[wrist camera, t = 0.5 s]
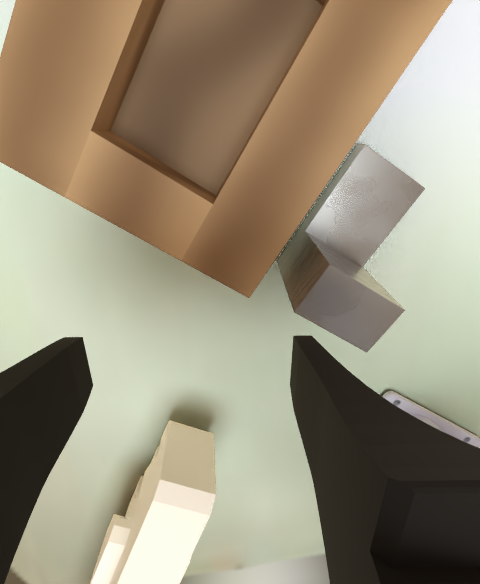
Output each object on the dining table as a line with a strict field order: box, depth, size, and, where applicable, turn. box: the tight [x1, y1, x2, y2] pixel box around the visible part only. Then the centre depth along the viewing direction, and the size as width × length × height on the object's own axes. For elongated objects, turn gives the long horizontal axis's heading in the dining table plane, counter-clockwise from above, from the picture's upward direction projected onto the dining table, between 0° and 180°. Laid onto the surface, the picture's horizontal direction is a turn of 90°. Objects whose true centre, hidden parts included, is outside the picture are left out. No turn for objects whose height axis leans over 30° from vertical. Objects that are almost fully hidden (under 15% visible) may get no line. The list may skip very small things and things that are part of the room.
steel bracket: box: [277, 144, 425, 352], centre depth 17 cm, size 4×8×6 cm, turn 149°
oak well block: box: [0, 0, 452, 298], centre depth 15 cm, size 14×16×3 cm
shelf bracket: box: [90, 420, 216, 584], centre depth 27 cm, size 6×25×13 cm, turn 156°
